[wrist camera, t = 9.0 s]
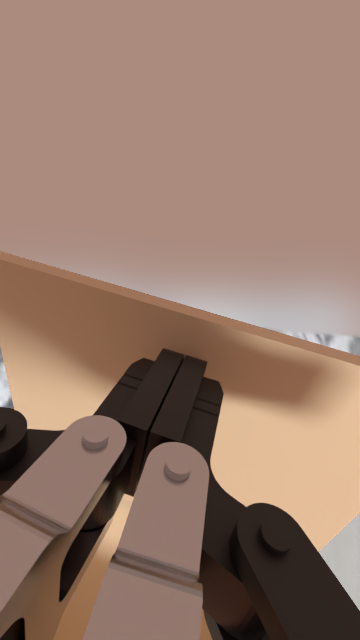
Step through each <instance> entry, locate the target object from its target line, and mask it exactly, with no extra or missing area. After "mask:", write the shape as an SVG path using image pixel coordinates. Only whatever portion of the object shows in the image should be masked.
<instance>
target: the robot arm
mask: <svg viewBox="0 0 360 640" xmlns="http://www.w3.org/2000/svg"><path fill="white" fill-rule="evenodd" d="M207 363H208V361H204V360H201V359H198V358H195V357H192V356H188V355H186V356H185V354H182V353H178V352H175V351H172V350H169V349H165V348H163V349H162V350H161V352H160V354H159V355H158V357H157V358H156V360H155V361H152V360H149V359H146V358H142V359H140V360H138V361H136V362H134V363H132V364H131V365H130V366H129V368H128V369H127V370H126V372H125V373H124V375H123V376H122V377H121V378H120V380H119V381H118V383H117V384H116V385H115V386H114V388H113V389H112V390H111V392H110V393H109V394H108V396H107V397H106V398H105V400H104V401H103V402H102V404H101V405H100V406H99V408H98V409H97V410H96V412H95V413H94V414H93V415H92V416H86V417H83V418H80V419H78V420H76V421H75V422H73V423H72V424H71V425H70V426H68V428H67V429H66V430H59V431H58V430H39V429H27V420H26V418H25V417H24V415H23V414H22V413H20V412H19V411H17V410H14V409H11V408H5V407H0V640H53V639H54V636H55V634H56V631H57V628H58V625H59V622H60V620H61V617H62V615H63V613H64V611H65V608H66V606H67V604H68V603H69V601H70V599H71V597H72V595H73V593H74V592H75V590H76V588H77V586H78V584H79V582H80V581H81V579H82V577H83V575H84V573H85V571H86V569H87V568H88V566H89V564H90V562H91V560H92V558H93V557H94V555H95V553H96V551H97V549H98V547H99V546H100V544H101V542H102V540H103V538H104V536H105V535H106V533H107V531H108V529H109V527H110V525H111V523H112V521H113V517H114V514H115V512H116V510H117V508H118V506H119V504H120V502H121V499H122V497H123V495H124V494H127V495H130V496H132V497H134V499H133V502H132V505H131V508H130V511H129V514H128V517H127V520H126V523H125V526H124V529H123V532H122V535H121V538H120V541H119V544H118V547H117V549H116V552H115V554H113V556H112V558H111V560H110V562H109V565H108V567H107V570H106V573H105V576H104V579H103V581H102V584H101V587H100V590H99V593H98V596H97V599H96V602H95V605H94V608H93V611H92V614H91V616H90V619H89V622H88V625H87V628H86V631H85V634H84V637H83V640H199V639H200V628H201V616H202V609H203V611H204V617H205V620H206V624H207V626H208V629H209V632H210V634H211V637H212V640H360V611H359V609H358V608H357V607H356V605H355V604H354V602H353V601H352V599H351V598H350V597H349V595H348V594H347V592H346V591H345V589H344V588H343V587H342V585H341V584H340V582H339V581H338V579H337V578H336V577H335V575H334V574H333V572H332V571H331V569H330V568H329V567H328V565H327V564H326V562H325V561H324V559H323V558H322V557H321V555H320V554H319V552H318V551H317V549H316V548H315V547H314V545H313V544H312V542H311V541H310V539H309V538H308V537H307V535H306V534H305V532H304V531H303V529H302V528H301V527H300V525H299V524H298V523H297V522H296V521H295V520H294V518H293V517H292V516H290V515H289V514H288V513H287V512H285V511H284V510H282V509H281V508H279V507H277V506H274V505H271V504H268V503H254V504H251V505H249V506H247V507H246V506H244V505H243V504H242V503H240V502H239V501H237V500H236V499H235V498H233V497H232V496H231V495H229V494H228V493H227V492H226V491H225V490H224V489H223V488H222V487H221V486H220V485H219V483H218V482H217V481H216V479H215V477H214V475H213V472H212V469H211V463H210V460H211V454H212V449H213V444H214V439H215V434H216V429H217V424H218V419H219V415H220V410H221V405H222V400H223V395H224V393H223V390H222V387H221V385H220V382H219V381H216V380H213V379H210V378H206V377H204V374H205V370H206V367H207ZM134 495H135V496H134Z"/></svg>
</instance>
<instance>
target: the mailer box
mask: <svg viewBox="0 0 360 640" xmlns="http://www.w3.org/2000/svg"><path fill="white" fill-rule="evenodd" d="M131 505H132V502H130V501H128V500H125V499H123V498H122V499H121V502H120V504H119V506H118V508H117V510H116V512H115V514H114V517H113V521H112V523H111V525H110V527H109V529H108V531H107V533H106V535H105V536H104V538H103V540H102V542H101V544H100V546H99V547H98V549H97V551H96V553H95V555H94V557H93V558H92V560H91V562H90V564H89V566H88V568H87V569H86V571H85V573H84V575H83V577H82V579H81V581H80V582H79V584H78V586H77V588H76V590H75V592H74V593H73V595H72V597H71V599H70V601H69V603H68V604H67V606H66V608H65V611H64V613H63V615H62V617H61V620H60V622H59V625H58V628H57V631H56V634H55V636H54V639H53V640H83V637H84V634H85V631H86V628H87V625H88V622H89V619H90V616H91V614H92V611H93V608H94V605H95V602H96V599H97V596H98V593H99V590H100V587H101V584H102V581H103V579H104V576H105V573H106V570H107V567H108V565H109V562H110V560H111V558H112V556H113V554H115V552H116V549H117V547H118V544H119V541H120V538H121V535H122V532H123V529H124V526H125V523H126V520H127V517H128V514H129V511H130V508H131ZM199 640H212V637H211V634H210V632H209V629H208V626H207V624H206V620H205V617H204V611H203V609H202V616H201V628H200V639H199Z"/></svg>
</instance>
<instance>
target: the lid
mask: <svg viewBox="0 0 360 640" xmlns="http://www.w3.org/2000/svg"><path fill="white" fill-rule="evenodd" d="M0 346H1V351H2V356H3V360H4V365H5V369H6V374H7V378H8V383H9V387H10V392H11V396H12V401H13V405H14V410H17V411H19V412H20V413H22V414H23V415H24V417H25V418H26V420H27V429H39V430H58V431H59V430H66V429H67V428H68V426H70V425H71V424H72V423H73V422H75V421H76V420H78V419H80V418H83V417H86V416H92V415H93V414H94V413H95V412H96V410H97V409H98V408H99V406H100V405H101V404H102V402H103V401H104V400H105V398H106V397H107V396H108V394H109V393H110V392H111V390H112V389H113V388H114V386H115V385H116V384H117V383H118V381H119V380H120V378H121V377H122V376H123V375H124V373H125V372H126V370H127V369H128V368H129V366H130V365H131V364H132V363H134V362H136V361H138V360H140V359H142V358H146V359H149V360H152V361H155V360H156V358H157V357H158V355H159V354H160V352H161V350H162V349H163V348H165V349H169V350H172V351H175V352H178V353H182V354H185V356H186V355H188V356H192V357H195V358H198V359H201V360H204V361H208V363H207V367H206V370H205V374H204V377H206V378H210V379H213V380H216V381H219V382H220V385H221V387H222V390H223V393H224V395H223V400H222V405H221V410H220V415H219V419H218V424H217V429H216V434H215V439H214V444H213V449H212V454H211V460H210V463H211V469H212V472H213V475H214V477H215V479H216V481H217V482H218V483H219V485H220V486H221V487H222V488H223V489H224V490H225V491H226V492H227V493H228V494H229V495H231V496H232V497H233V498H235V499H236V500H237V501H239V502H240V503H242V504H243V505H244V506H246V507H247V506H249V505H251V504H254V503H268V504H271V505H274V506H277V507H279V508H281V509H282V510H284V511H285V512H287V513H288V514H289V515H290V516H292V517H293V518H294V520H295V521H296V522H297V523H298V524H299V525H300V527H301V528H302V529H303V531H304V532H305V534H306V535H307V537H308V538H309V539H310V541H311V542H312V544H313V545H314V547H315V548H316V549H317V551H318V552H319V551H320V550H321V549H322V548H323V547H324V546H325V545H326V544H327V543H328V542H329V541H331V540H332V539H333V538H334V537H335V536H336V535H337V534H338V533H339V532H340V531H341V530H342V529H343V528H344V527H345V526H346V525H347V524H348V523H349V522H350V521H351V520H353V519H354V518H355V517H356V516H357V515H358V514H359V513H360V356H357V355H354V354H350V353H347V352H343V351H340V350H336V349H333V348H330V347H326V346H323V345H319V344H316V343H312V342H309V341H306V340H302V339H299V338H295V337H292V336H289V335H285V334H282V333H278V332H275V331H271V330H268V329H265V328H261V327H257V326H254V325H251V324H247V323H244V322H240V321H237V320H234V319H230V318H227V317H223V316H220V315H217V314H213V313H210V312H206V311H203V310H199V309H196V308H192V307H189V306H186V305H182V304H179V303H176V302H172V301H169V300H165V299H162V298H158V297H155V296H151V295H148V294H145V293H141V292H138V291H134V290H131V289H127V288H124V287H121V286H117V285H114V284H110V283H107V282H104V281H100V280H97V279H93V278H90V277H86V276H83V275H80V274H76V273H73V272H69V271H66V270H62V269H59V268H56V267H52V266H48V265H45V264H42V263H38V262H35V261H32V260H28V259H25V258H21V257H18V256H14V255H11V254H8V253H4V252H1V251H0ZM134 496H135V495H134ZM122 498H123V499H125V500H128V501H130V502H133V499H134V497H132V496H130V495H127V494H124V495H123V497H122Z"/></svg>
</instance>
